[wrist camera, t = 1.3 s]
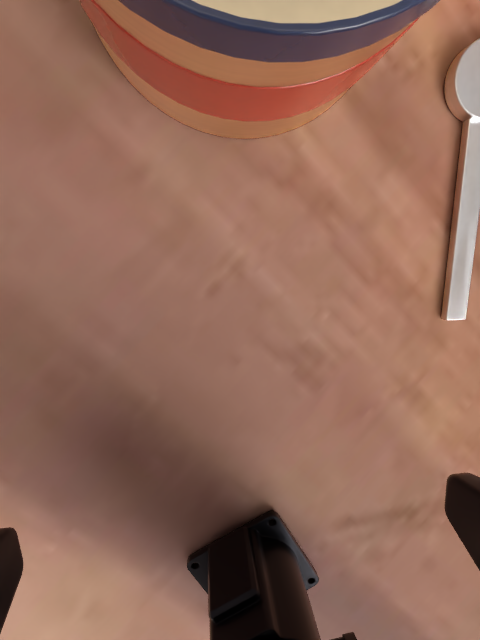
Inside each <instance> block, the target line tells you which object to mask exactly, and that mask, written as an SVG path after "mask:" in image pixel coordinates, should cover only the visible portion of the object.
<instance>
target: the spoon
mask: <svg viewBox="0 0 480 640" xmlns="http://www.w3.org/2000/svg"><path fill="white" fill-rule="evenodd" d="M444 92H445V99H446V102H447V105H448V107H449V109H450V111H451V112H452V114H453V115H454V116H455V117H456V118H457V119H459V120H461V121H463V126H462V135H461V144H460V153H459V162H458V171H457V180H456V189H455V198H454V207H453V216H452V225H451V234H450V243H449V252H448V261H447V269H446V278H445V287H444V296H443V305H442V314H441V319H444V320H464V319H466V313H467V306H468V298H469V290H470V282H471V274H472V267H473V259H474V251H475V243H476V235H477V227H478V220H479V212H480V38H479V39H477V40H476V41H474V42H473V43H471V44H470V45H469V46H467V47H466V48H465V49H463V50H462V51H461V52H460V53H459V54H458V55H457V56H456V57H455V58H454V60H453V61H452V63H451V65H450V67H449V69H448V72H447V75H446V78H445V86H444Z"/></svg>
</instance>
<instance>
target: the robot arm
mask: <svg viewBox="0 0 480 640" xmlns="http://www.w3.org/2000/svg"><path fill="white" fill-rule="evenodd" d="M445 512H446V515H447V517H448V519H449V521H450V523H451V525H452V526H453V528H454V529H455V531H456V533H457V534H458V536H459V538H460V539H461V541H462V542H463V544H464V546H465V547H466V549H467V551H468V552H469V554H470V556H471V557H472V559H473V560H474V562H475V564H476V565H477V567H478V569H479V570H480V477H478V476H475V475H473V474H470V473H459V474H452V475H450V476H449V477H448V479H447V486H446V497H445ZM272 519H274V520H273V521H270V520H272ZM195 562H196V563H195ZM187 568H188V570H189V571H190V572H191V574H192V575H193V576H194V577H195V579H196V580H197V581H198V582H199V584H200V585H201V586H202V587H203V589H204V590H205V591H206V592H207V594H208V611H209V617H210V640H321V639H320V635H319V632H318V628H317V625H316V622H315V618H314V615H313V611H312V608H311V605H310V601H309V598H308V594H307V591H306V590H308V589H310V588H311V587H313V586H315V585H316V584H317V583H318V581H319V579H318V576H317V573H316V571H315V569H314V568H313V566H312V565H311V563H310V562H309V560H308V558H307V557H306V555H305V554H304V552H303V551H302V549H301V548H300V546H299V545H298V543H297V542H296V540H295V539H294V537H293V536H292V534H291V533H290V531H289V530H288V528H287V527H286V525H285V524H284V522H283V521H282V519H281V518H280V516H279V515H278V513H276V512H275V511H269V512H267V513H265V514H263V515H261V516H259V517H258V518H256V519H254V520H252V521H251V522H249V523H247V524H245V525H243V526H242V527H240V528H238V529H236V530H235V531H233V532H231V533H229V534H227V535H226V536H224V537H222V538H220V539H218V540H217V541H215V542H213V543H211V544H210V545H208V546H206V547H204V548H202V549H201V550H199V551H197V552H195V553H193V554H192V555H190V556H189V557H188V562H187ZM22 571H23V558H22V553H21V549H20V545H19V540H18V536H17V533H16V531H15V529H14V528H10V527H9V528H1V529H0V633H1V630H2V628H3V625H4V622H5V619H6V617H7V614H8V611H9V608H10V606H11V603H12V600H13V597H14V595H15V592H16V589H17V587H18V584H19V581H20V578H21V575H22ZM342 636H343V637H340V638H335V639H331V640H357V639H356V637H355V635H354V633H353V632H351V633H346V634H342Z"/></svg>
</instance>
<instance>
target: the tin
mask: <svg viewBox="0 0 480 640" xmlns="http://www.w3.org/2000/svg"><path fill="white" fill-rule="evenodd" d="M79 1H80V3H81V5H82V7H83V9H84V11H85V12H86V14H87V15H88V17H89V18H90V20H91V22H92V24H93V26H94V28H95V30H96V32H97V34H98V35H99V37H100V39H101V41H102V43H103V45H104V47H105V49H106V50H107V52H108V53H109V55H110V56H111V58H112V60H113V61H114V63H115V64H116V66H117V67H118V68H119V70H120V71H121V72H122V73H123V75H124V76H125V77H126V78H127V80H128V81H129V82H130V83H131V84H132V86H133V87H135V88H136V89H137V90H138V91H139V92H140V93H141V94H142V95H143V96H144V97H145V98H146V99H147V100H148V101H149V102H151V103H152V104H153V105H154V106H156V107H157V108H158V109H160V110H161V111H162V112H164V113H165V114H167V115H168V116H170V117H172V118H174V119H175V120H177V121H179V122H181V123H182V124H184V125H187V126H189V127H192V128H194V129H196V130H199V131H201V132H205V133H209V134H212V135H216V136H220V137H228V138H237V139H251V138H263V137H269V136H274V135H279V134H282V133H285V132H288V131H291V130H294V129H296V128H298V127H300V126H302V125H304V124H306V123H308V122H310V121H312V120H313V119H315V118H316V117H318V116H319V115H321V114H322V113H324V112H325V111H326V110H328V109H329V108H330V107H331V106H332V105H333V104H334V103H336V102H337V101H338V100H339V99H340V98H341V97H342V96H343V95H344V94H345V93H346V92H347V91H348V90H349V89H350V88H351V87H352V86H353V85H354V84H355V83H356V82H357V81H358V80H359V79H360V78H361V77H362V76H363V75H365V74H366V73H367V72H368V71H369V70H370V69H371V68H372V67H373V66H374V65H375V64H376V63H377V62H378V61H379V60H380V59H381V57H382V56H383V55H384V54H385V53H386V52H387V51H388V50H389V49H390V48H391V47H392V46H393V45H394V44H395V43H396V42H397V41H398V40H399V39H400V38H401V37H402V36H403V35H404V34H405V33H406V32H407V31H408V30H409V29H410V28H411V26H412V25H413V24H414V23H415V22H416V21H417V20H418V18H419V17H420V16H421V15H423V14H424V13H426V12H427V11H429V10H430V9H431V8H432V7H433V6H434V5H436V4H437V3H438V2H439V1H440V0H79Z"/></svg>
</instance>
